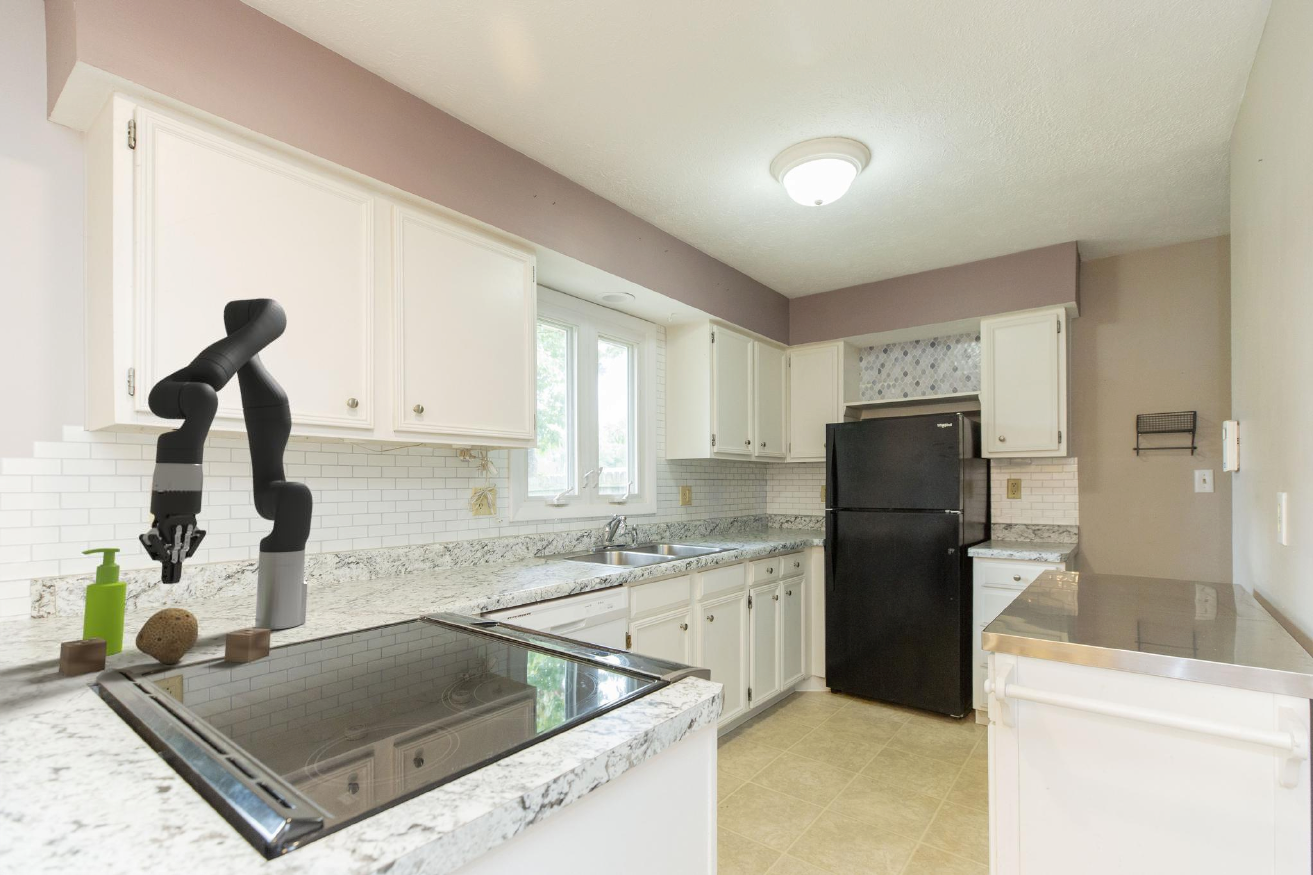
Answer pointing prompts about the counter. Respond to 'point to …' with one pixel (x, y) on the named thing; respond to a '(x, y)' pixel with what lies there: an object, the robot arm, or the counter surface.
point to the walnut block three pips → (82, 656)
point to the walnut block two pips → (247, 645)
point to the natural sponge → (168, 635)
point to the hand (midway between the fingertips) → (170, 583)
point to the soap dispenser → (106, 603)
